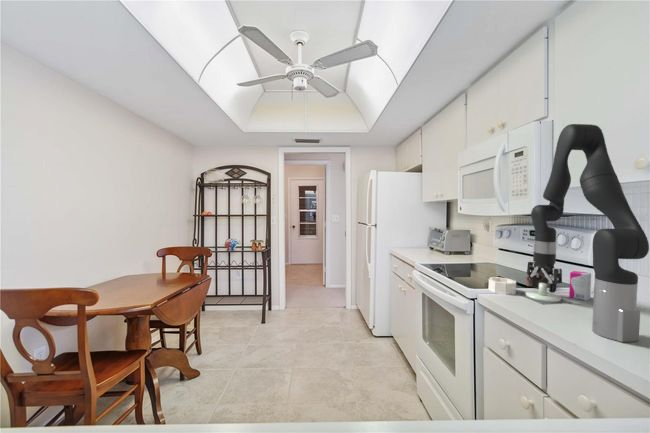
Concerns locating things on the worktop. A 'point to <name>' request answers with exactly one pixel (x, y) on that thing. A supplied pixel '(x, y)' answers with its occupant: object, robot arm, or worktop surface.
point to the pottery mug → (538, 280)
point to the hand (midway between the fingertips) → (542, 289)
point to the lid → (543, 294)
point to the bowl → (502, 285)
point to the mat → (544, 302)
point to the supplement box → (580, 285)
